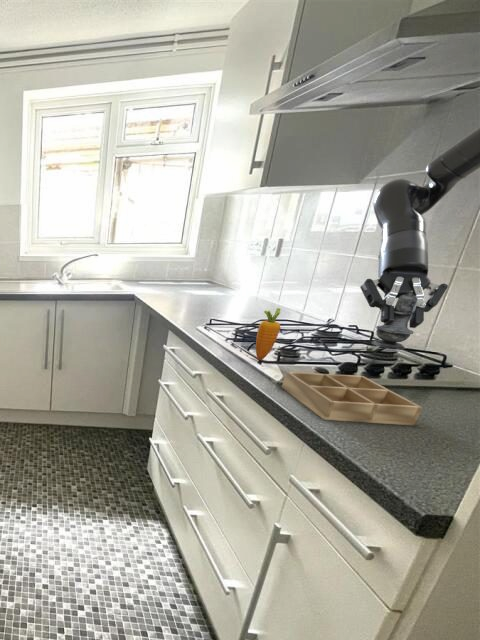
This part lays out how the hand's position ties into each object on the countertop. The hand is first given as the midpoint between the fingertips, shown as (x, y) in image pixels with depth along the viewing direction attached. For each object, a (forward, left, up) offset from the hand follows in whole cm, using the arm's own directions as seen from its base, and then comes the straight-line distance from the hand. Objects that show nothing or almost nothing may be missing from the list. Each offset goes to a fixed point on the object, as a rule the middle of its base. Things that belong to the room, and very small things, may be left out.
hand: (401, 324), depth 87 cm
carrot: (+24, -13, -18) cm, 33 cm away
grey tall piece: (+1, -2, -5) cm, 6 cm away
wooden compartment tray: (+4, +7, -18) cm, 20 cm away
